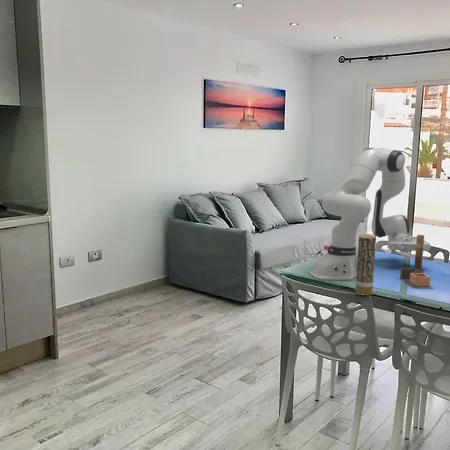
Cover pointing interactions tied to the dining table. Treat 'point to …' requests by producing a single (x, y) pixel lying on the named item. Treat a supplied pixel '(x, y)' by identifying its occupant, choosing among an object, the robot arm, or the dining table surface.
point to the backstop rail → (406, 276)
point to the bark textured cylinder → (365, 264)
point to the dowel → (419, 251)
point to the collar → (419, 279)
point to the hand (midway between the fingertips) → (413, 249)
